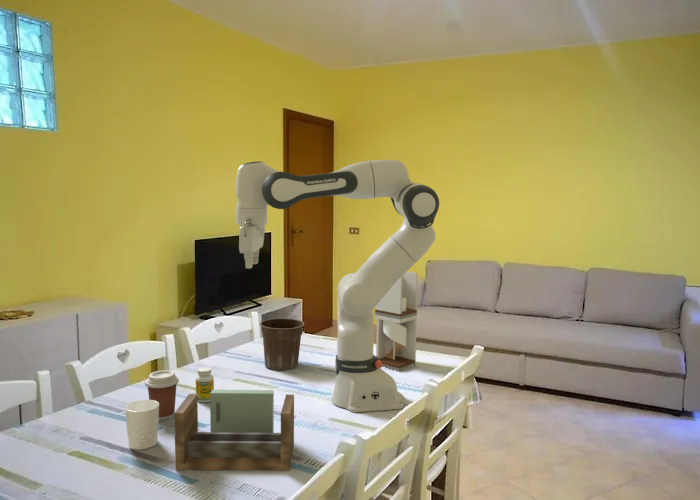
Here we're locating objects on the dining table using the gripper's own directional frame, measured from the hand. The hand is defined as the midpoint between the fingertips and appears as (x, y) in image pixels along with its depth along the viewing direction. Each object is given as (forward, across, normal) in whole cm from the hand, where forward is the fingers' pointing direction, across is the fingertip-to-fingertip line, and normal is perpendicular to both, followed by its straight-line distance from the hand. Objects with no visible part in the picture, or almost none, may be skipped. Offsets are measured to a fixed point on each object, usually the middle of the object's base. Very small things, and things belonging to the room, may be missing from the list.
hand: (251, 266), depth 158 cm
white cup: (+42, -25, +23) cm, 55 cm away
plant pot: (+42, +39, -4) cm, 58 cm away
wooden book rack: (+42, -32, -2) cm, 53 cm away
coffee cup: (+42, -7, +24) cm, 49 cm away
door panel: (+42, -20, -1) cm, 47 cm away
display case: (+42, +42, -46) cm, 75 cm away
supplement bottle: (+42, +5, +16) cm, 45 cm away
